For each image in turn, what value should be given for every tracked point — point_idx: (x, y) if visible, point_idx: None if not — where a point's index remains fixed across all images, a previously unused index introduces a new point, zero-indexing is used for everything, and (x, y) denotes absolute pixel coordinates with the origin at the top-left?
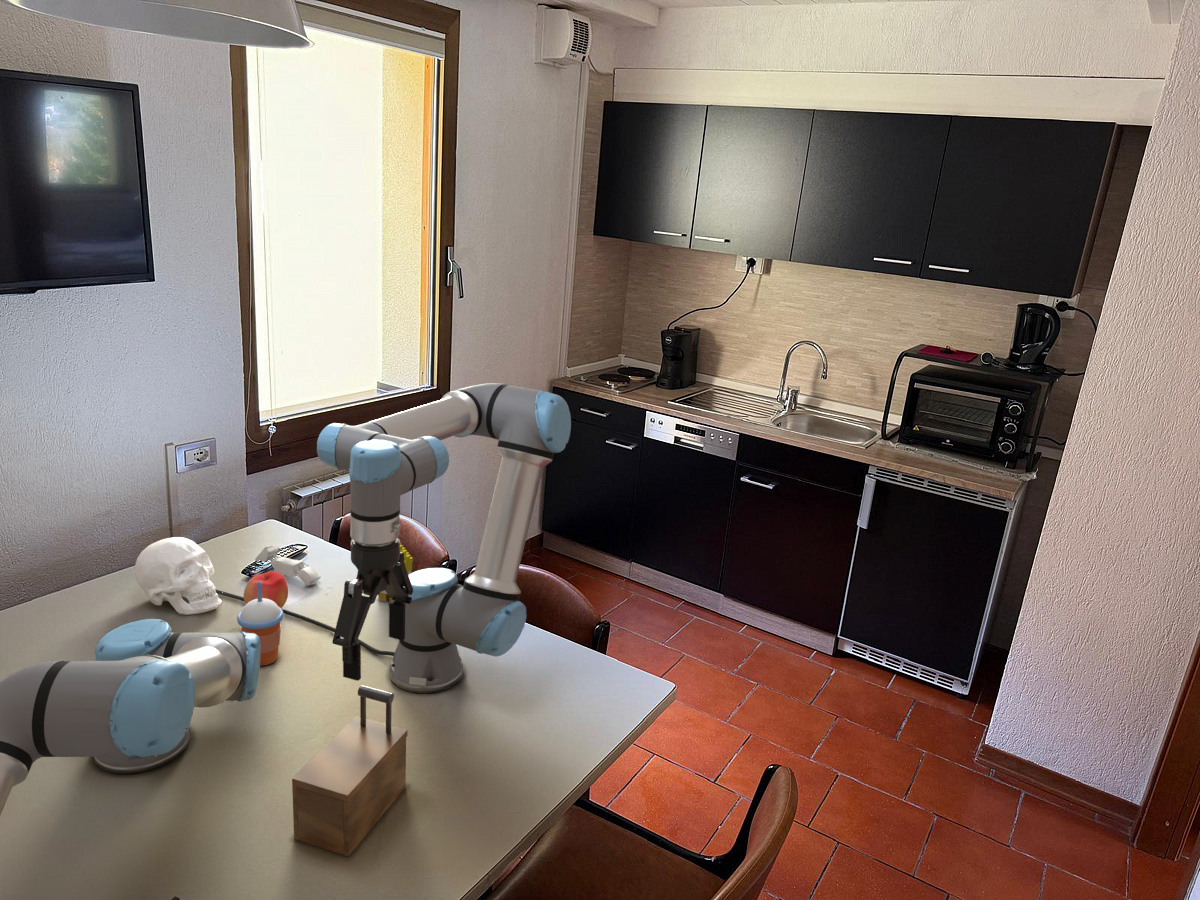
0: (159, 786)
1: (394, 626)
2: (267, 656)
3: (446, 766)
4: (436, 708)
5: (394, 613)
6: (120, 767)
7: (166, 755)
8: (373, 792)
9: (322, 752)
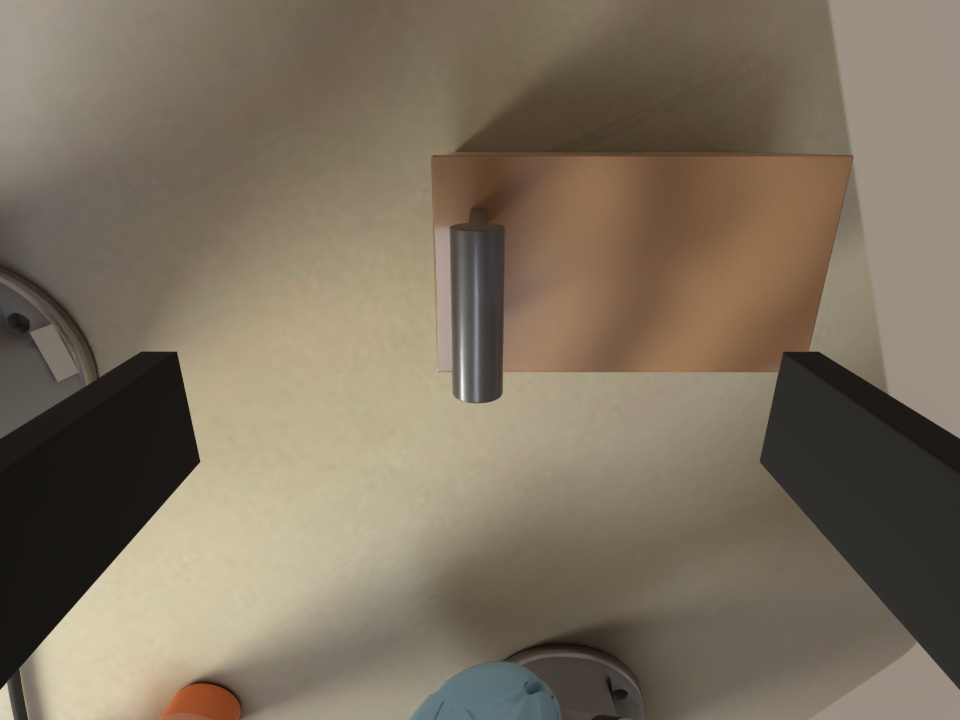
0: (644, 618)
1: (130, 478)
2: (211, 707)
3: (321, 81)
4: (107, 251)
5: (28, 577)
6: (641, 699)
7: (588, 662)
8: (652, 153)
9: (659, 362)
